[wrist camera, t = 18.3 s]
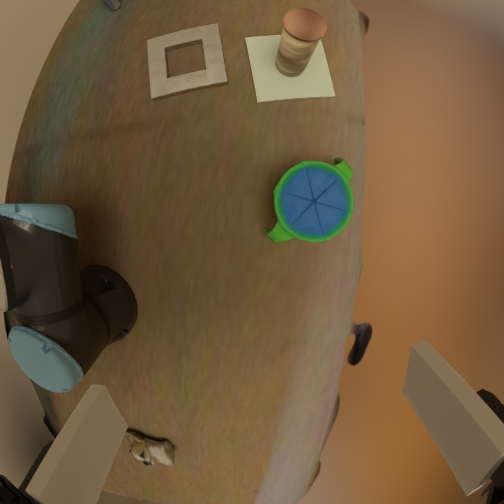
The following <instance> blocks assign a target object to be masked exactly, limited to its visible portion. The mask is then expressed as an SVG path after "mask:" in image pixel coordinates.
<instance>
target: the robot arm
mask: <svg viewBox="0 0 504 504" xmlns="http://www.w3.org/2000/svg"><path fill="white" fill-rule="evenodd" d="M77 239H78V235H77V234H76V227H75V217H74V213H73V211H72V209H71V208H70V207H68V206H67V205H62V204H0V310H2V311H3V312H6V311H9V310H12V309H13V312H14V316H15V320H16V323H17V325H16V326H14V327H13V328H12V329H11V332H10V333H9V338H8V344H9V347H10V351H11V353H12V355H13V357H14V359H15V361H16V362H17V364H18V365H19V366H20V368H21V369H22V370H23V371H24V373H25V374H26V375H27V376H28V377H30V378H31V379H32V380H33V381H34V382H35V383H37V384H38V385H40V386H41V387H43V388H45V389H47V390H49V391H52V392H56V393H65V392H68V391H70V390H72V389H73V388H74V386H75V385H76V384H77V383H78V382H80V381H81V380H82V379H83V377H84V375H85V374H86V373H87V371H88V370H89V369H90V367H91V366H92V364H93V363H94V362H95V360H96V359H97V358H98V356H99V355H100V354H101V352H102V351H103V350H104V348H105V347H106V346H107V345H110V344H112V343H114V342H117V341H119V340H121V339H123V338H124V337H125V336H126V335H127V334H128V333H129V332H130V331H131V329H132V328H133V326H134V325H135V322H136V319H137V303H136V299H135V296H134V294H133V292H132V290H131V288H130V287H129V285H128V284H127V282H126V281H125V280H124V279H123V278H122V277H121V276H120V275H119V274H118V273H116V272H115V271H113V270H111V269H109V268H107V267H104V266H97V265H96V266H89V267H86V268H84V269H83V270H81V271H80V263H79V254H78V244H77ZM403 394H404V395H405V397H406V398H407V400H408V401H409V403H410V404H411V406H412V407H413V409H414V410H415V412H416V413H417V415H418V416H419V418H420V419H421V421H422V423H423V424H424V426H425V427H426V429H427V431H428V432H429V434H430V435H431V437H432V439H433V440H434V442H435V443H436V445H437V447H438V448H439V450H440V452H441V453H442V455H443V456H444V458H445V460H446V461H447V463H448V465H449V466H450V468H451V470H452V471H453V473H454V475H455V477H456V478H457V480H458V482H459V483H460V485H461V487H462V489H463V491H464V492H465V494H466V496H468V495H469V494H471V493H473V492H474V491H476V490H477V489H479V488H480V487H481V486H483V485H484V484H485V483H486V482H487V480H488V479H489V478H491V480H492V482H491V483H490V485H489V486H488V487H487V488H486V489H485V490H484V491H483V493H482V495H481V496H484V495H485V494H486V493H487V492H488V491H489V493H488V495H487V496H488V497H487V501H486V504H504V405H503V404H501V402H500V401H499V400H498V398H497V397H496V396H495V395H494V394H492V393H490V392H488V391H486V390H484V389H482V390H480V391H478V392H475V391H474V390H473V389H472V388H471V387H470V386H469V385H468V383H467V382H466V381H465V380H464V379H463V378H462V377H461V376H460V375H459V374H458V373H457V372H456V371H455V370H454V369H453V368H452V367H451V366H450V365H449V364H448V363H447V362H446V360H445V359H444V358H443V357H442V356H441V355H440V354H439V353H438V352H436V350H434V348H433V347H432V346H431V345H429V343H427V341H422V342H419V343H416V344H413V345H411V348H410V355H409V362H408V367H407V373H406V378H405V383H404V388H403ZM127 428H128V426H127V424H126V423H125V421H124V419H123V418H122V416H121V414H120V412H119V411H118V409H117V407H116V405H115V404H114V402H113V400H112V398H111V396H110V394H109V393H108V391H107V389H106V387H105V385H94V384H92V385H91V386H90V388H89V389H88V390H87V392H86V393H85V395H84V396H83V398H82V399H81V401H80V402H79V404H78V405H77V407H76V408H75V410H74V411H73V413H72V414H71V416H70V417H69V419H68V420H67V422H66V424H65V425H64V427H63V428H62V430H61V431H60V433H59V434H58V436H57V438H56V439H55V441H54V442H53V441H51V442H50V443H49V444H47V445H46V446H45V447H44V448H43V449H42V451H41V452H40V454H39V455H38V458H37V459H36V460H35V462H34V464H33V465H32V467H31V469H30V470H29V472H28V474H27V475H26V477H25V479H24V481H23V482H22V484H21V486H20V487H19V488H18V489H17V488H16V487H15V486H14V485H13V484H12V483H11V482H10V481H9V480H8V479H7V478H6V477H5V476H3V475H0V504H96V503H97V501H98V498H99V495H100V493H101V490H102V488H103V485H104V483H105V480H106V478H107V475H108V473H109V470H110V468H111V466H112V463H113V461H114V458H115V456H116V453H117V451H118V449H119V446H120V444H121V442H122V439H123V437H124V435H125V432H126V430H127Z"/></svg>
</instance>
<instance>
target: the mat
mask: <svg viewBox="0 0 504 504" xmlns="http://www.w3.org/2000/svg"><path fill="white" fill-rule="evenodd" d="M280 39H281V35H270V36H258V37H249V38H245V40H246V45H247V50H248V55H249V60H250V66H251V71H252V76H253V81H254V87H255V92H256V98H257V103H264V102H272V101H282V100H294V99H308V98H331V97H335V93H334V89H333V85H332V80H331V76H330V72H329V68H328V64H327V61H326V57H325V53H324V50H323V46H322V43H321V39H320V40H319V42H318V44H317V46H316V48H315V50H314V52H313V54H312V56H311V58H310V60H309V62H308V64H307V66H306V68H305V70H304V72H303V73H302V74H301V75H299V76H297V77H287V76H284V75H282V74H281V73H280V72H279V71H278V70H277V68H276V65H275V62H276V57H277V53H278V48H279V44H280Z"/></svg>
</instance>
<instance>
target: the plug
mask: <svg viewBox="0 0 504 504" xmlns="http://www.w3.org/2000/svg"><path fill="white" fill-rule="evenodd" d="M326 30H327V24H326V22H325V20H324V19H323V17H322V16H321V15H319V14H318V13H317V12H315V11H312V10H310V9H305V8H296V9H292V10H290V11H288V12H287V13H286V14H285V16H284V19H283V31H282V35H281V39H280V44H279V48H278V53H277V57H276V62H275V65H276V68H277V70H278V71H279V72H280V73H281V74H282V75H284V76H287V77H297V76H299V75H301V74H302V73H303V72H304V70H305V68H306V66H307V64H308V62H309V60H310V58H311V56H312V54H313V52H314V50H315V48H316V46H317V44H318V42H319V40H320V39H321V38H322V37H323V36H324V34H325V32H326Z"/></svg>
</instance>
